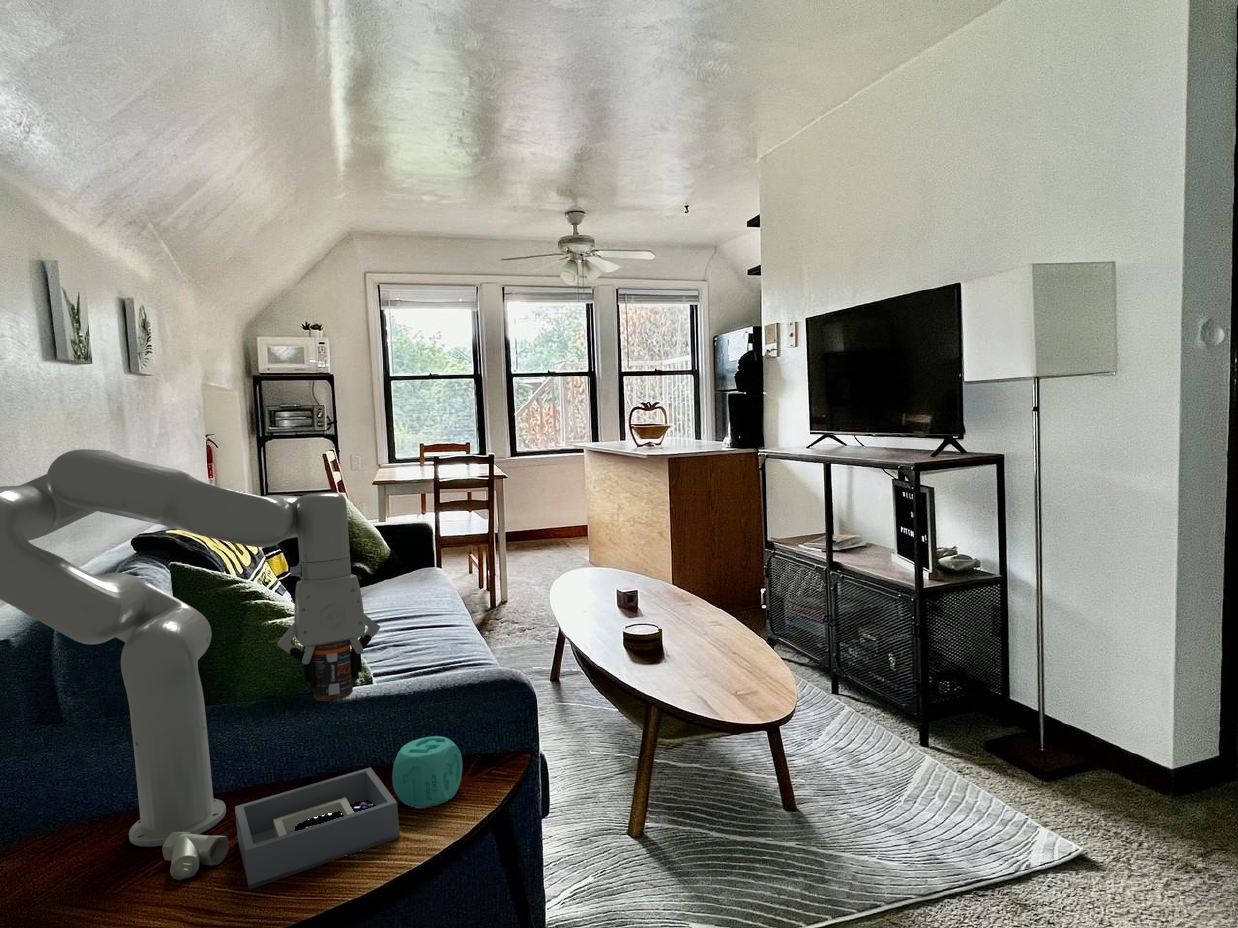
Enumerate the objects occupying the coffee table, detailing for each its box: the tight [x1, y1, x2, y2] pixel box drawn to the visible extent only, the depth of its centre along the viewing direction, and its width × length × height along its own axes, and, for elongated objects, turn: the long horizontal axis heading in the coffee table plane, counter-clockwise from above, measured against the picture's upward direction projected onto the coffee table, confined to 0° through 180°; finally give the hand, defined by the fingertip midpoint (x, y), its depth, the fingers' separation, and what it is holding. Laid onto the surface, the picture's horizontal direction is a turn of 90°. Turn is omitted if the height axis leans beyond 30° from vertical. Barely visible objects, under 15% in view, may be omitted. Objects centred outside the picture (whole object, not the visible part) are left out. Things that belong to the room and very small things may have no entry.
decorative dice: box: [391, 735, 463, 808], centre depth 115 cm, size 8×8×8 cm
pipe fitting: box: [161, 832, 230, 881], centre depth 100 cm, size 8×4×7 cm
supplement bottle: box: [311, 640, 354, 702], centre depth 119 cm, size 6×6×11 cm
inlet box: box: [234, 766, 401, 891], centre depth 104 cm, size 15×19×5 cm
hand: (333, 680), depth 118 cm, fingers closed on supplement bottle, 6 cm apart
